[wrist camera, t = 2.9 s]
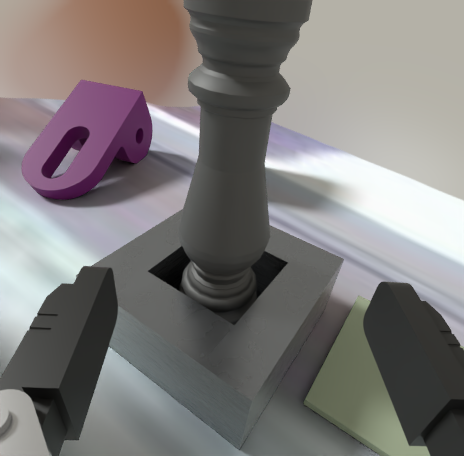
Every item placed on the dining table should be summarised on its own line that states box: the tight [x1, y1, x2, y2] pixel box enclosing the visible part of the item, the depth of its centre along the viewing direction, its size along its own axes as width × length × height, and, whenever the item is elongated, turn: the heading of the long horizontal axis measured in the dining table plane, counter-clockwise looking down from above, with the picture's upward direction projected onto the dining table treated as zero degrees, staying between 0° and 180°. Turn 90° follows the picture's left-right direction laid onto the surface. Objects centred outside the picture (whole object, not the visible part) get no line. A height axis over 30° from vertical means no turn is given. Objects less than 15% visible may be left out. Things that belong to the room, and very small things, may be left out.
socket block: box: [76, 209, 344, 450], centre depth 27 cm, size 14×14×6 cm
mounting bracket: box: [22, 80, 152, 200], centre depth 47 cm, size 9×8×18 cm
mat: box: [303, 296, 464, 456], centre depth 25 cm, size 12×12×1 cm
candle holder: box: [179, 0, 312, 325], centre depth 21 cm, size 6×6×25 cm
